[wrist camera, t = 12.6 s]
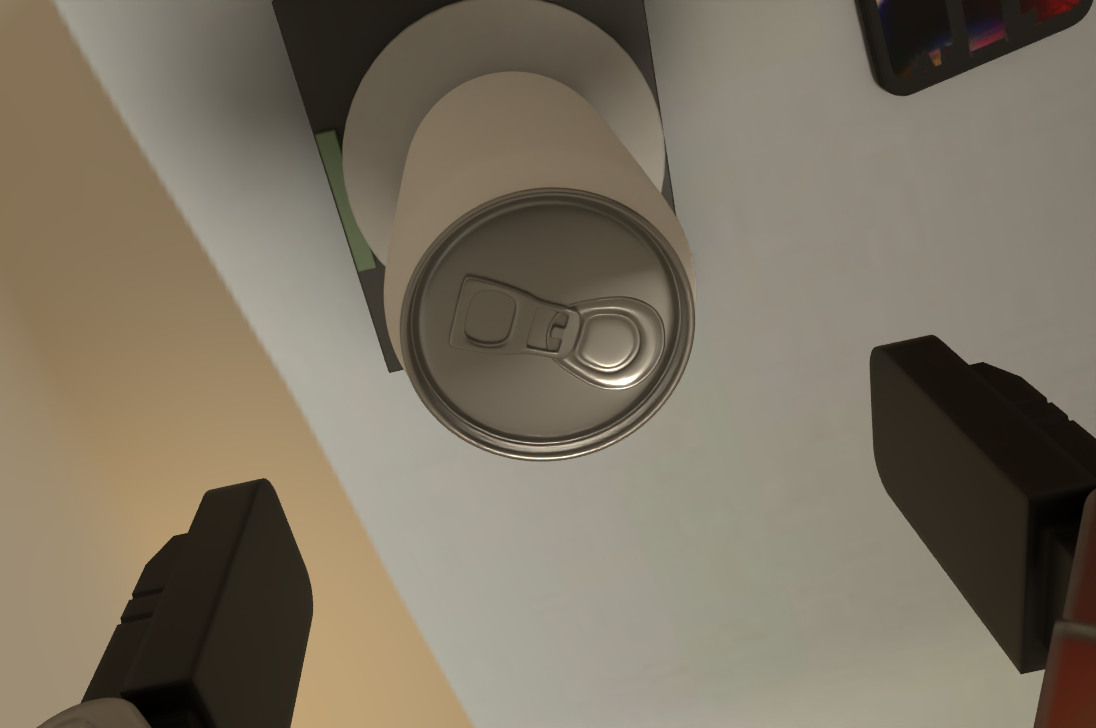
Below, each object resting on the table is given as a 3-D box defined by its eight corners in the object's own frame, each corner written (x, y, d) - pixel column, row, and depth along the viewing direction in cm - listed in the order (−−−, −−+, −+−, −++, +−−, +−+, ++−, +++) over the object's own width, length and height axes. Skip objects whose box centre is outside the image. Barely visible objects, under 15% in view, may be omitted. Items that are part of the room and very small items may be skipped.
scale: (282, -4, 28) (266, 2, 26) (620, -82, 28) (635, -83, 26) (392, 349, 33) (387, 381, 31) (676, 284, 33) (693, 311, 31)
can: (584, 297, 30) (658, 505, 19) (386, 254, 29) (347, 449, 18) (644, 99, 28) (767, 211, 17) (429, 42, 27) (414, 123, 16)
